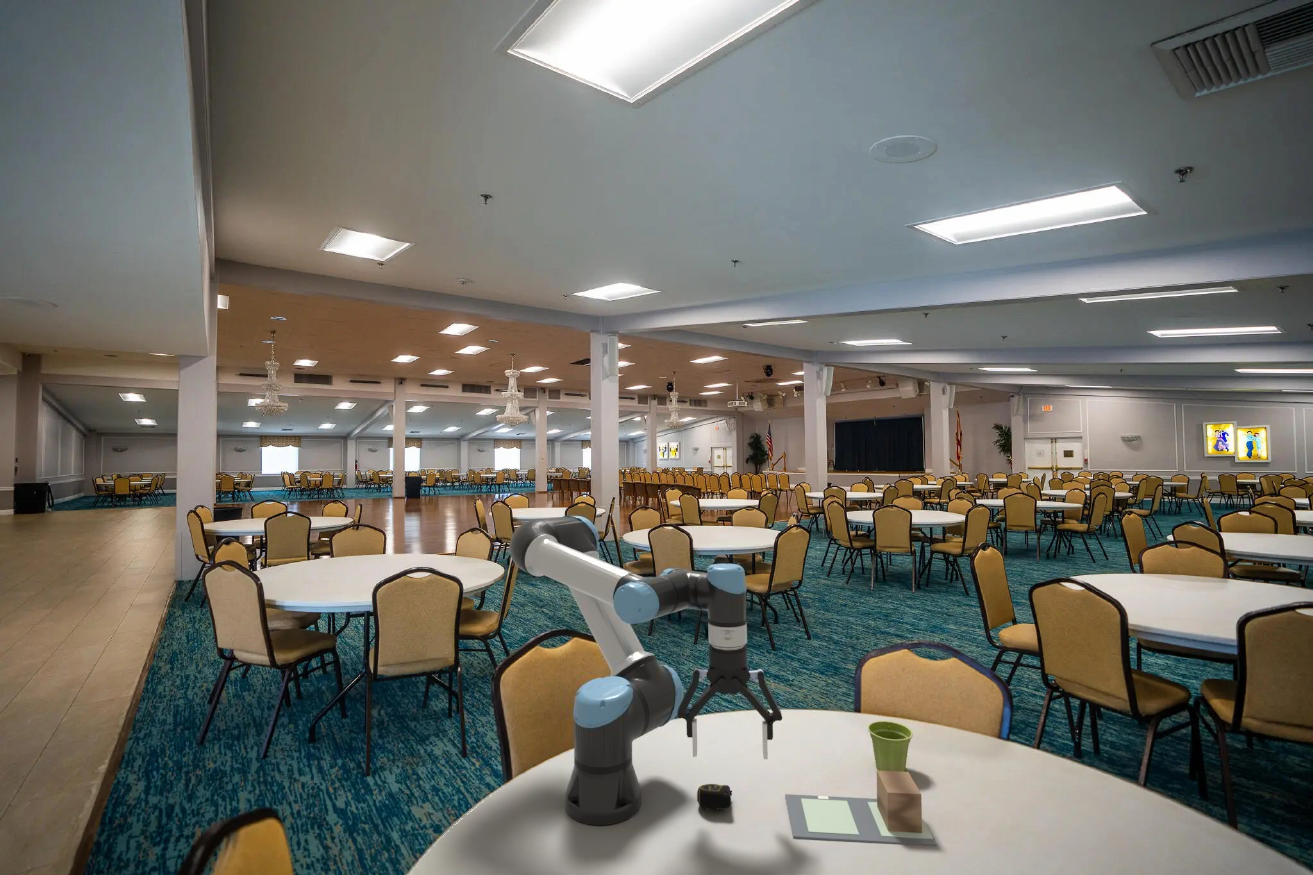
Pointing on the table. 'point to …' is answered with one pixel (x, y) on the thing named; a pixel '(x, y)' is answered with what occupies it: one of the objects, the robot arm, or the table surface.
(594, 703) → the robot arm
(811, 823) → the grey flat panel
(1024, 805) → the table surface
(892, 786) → the walnut block
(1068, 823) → the table surface
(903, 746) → the plant pot
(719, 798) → the tape measure
